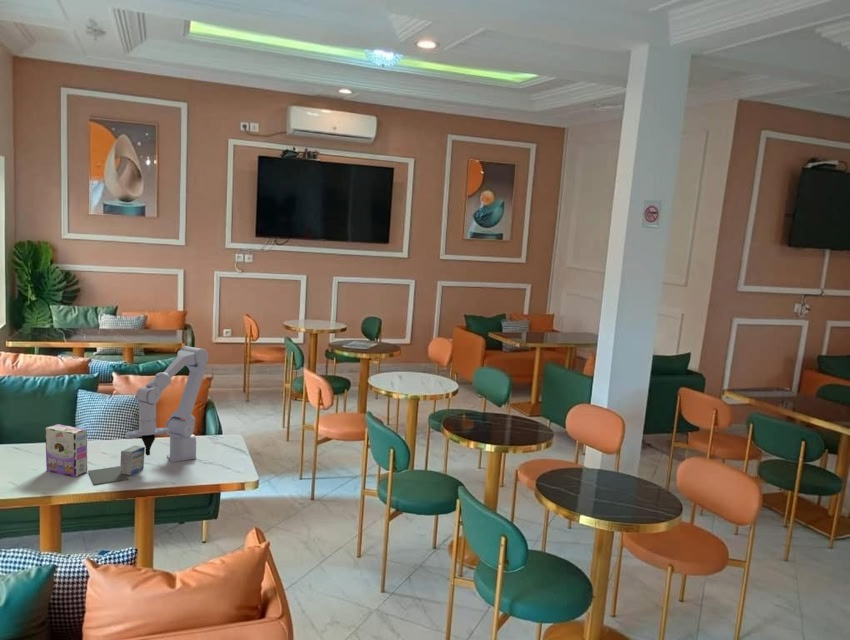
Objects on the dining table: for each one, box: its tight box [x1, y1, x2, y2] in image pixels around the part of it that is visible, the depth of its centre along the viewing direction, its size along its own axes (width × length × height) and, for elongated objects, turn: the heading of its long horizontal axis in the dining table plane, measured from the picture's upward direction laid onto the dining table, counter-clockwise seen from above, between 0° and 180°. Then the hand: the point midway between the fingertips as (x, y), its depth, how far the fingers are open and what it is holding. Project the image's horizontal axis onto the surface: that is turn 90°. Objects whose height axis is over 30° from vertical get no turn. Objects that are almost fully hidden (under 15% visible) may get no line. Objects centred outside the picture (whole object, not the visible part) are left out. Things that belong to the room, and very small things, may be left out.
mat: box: [87, 465, 129, 486], centre depth 236 cm, size 11×14×1 cm
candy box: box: [44, 423, 88, 478], centre depth 236 cm, size 14×6×16 cm, turn 71°
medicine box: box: [119, 445, 146, 476], centre depth 240 cm, size 8×4×9 cm, turn 168°
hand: (147, 454), depth 243 cm, fingers closed
